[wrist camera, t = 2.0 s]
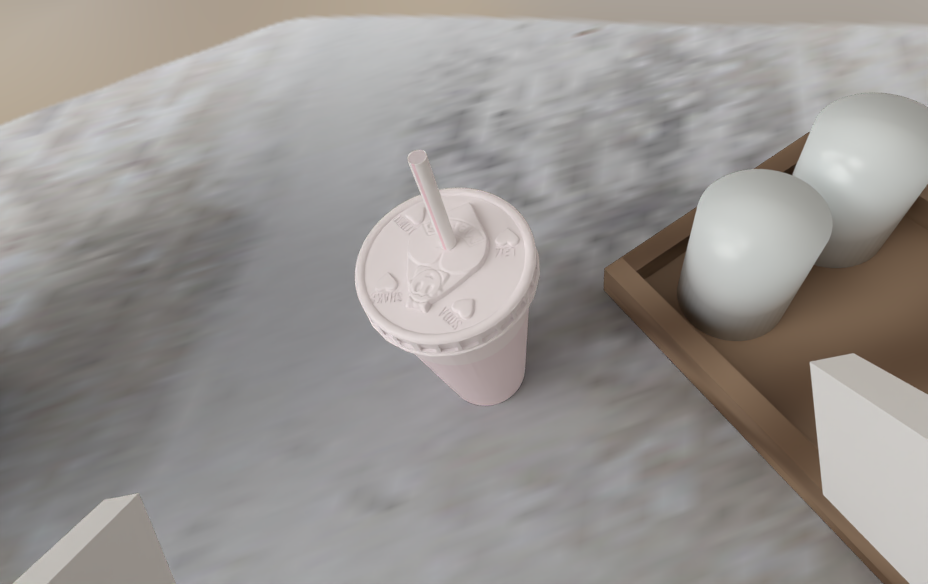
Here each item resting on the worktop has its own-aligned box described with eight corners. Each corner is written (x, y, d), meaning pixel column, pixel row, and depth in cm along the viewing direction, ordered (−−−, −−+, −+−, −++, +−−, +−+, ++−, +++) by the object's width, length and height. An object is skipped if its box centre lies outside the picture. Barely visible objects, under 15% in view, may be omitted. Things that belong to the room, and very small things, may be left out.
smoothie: (573, 331, 28) (559, 108, 16) (524, 456, 25) (465, 302, 13) (454, 295, 30) (365, 76, 18) (399, 406, 28) (253, 237, 16)
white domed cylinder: (752, 222, 28) (785, 133, 23) (822, 173, 29) (870, 76, 24) (833, 286, 26) (890, 201, 21) (908, 231, 26) (981, 136, 21)
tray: (603, 289, 29) (604, 268, 27) (816, 146, 30) (829, 118, 29) (1012, 718, 18) (1055, 727, 17) (1295, 462, 20) (1360, 447, 18)
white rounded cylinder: (655, 288, 27) (670, 210, 22) (730, 237, 28) (761, 150, 23) (728, 360, 25) (764, 292, 20) (809, 303, 26) (862, 222, 21)
